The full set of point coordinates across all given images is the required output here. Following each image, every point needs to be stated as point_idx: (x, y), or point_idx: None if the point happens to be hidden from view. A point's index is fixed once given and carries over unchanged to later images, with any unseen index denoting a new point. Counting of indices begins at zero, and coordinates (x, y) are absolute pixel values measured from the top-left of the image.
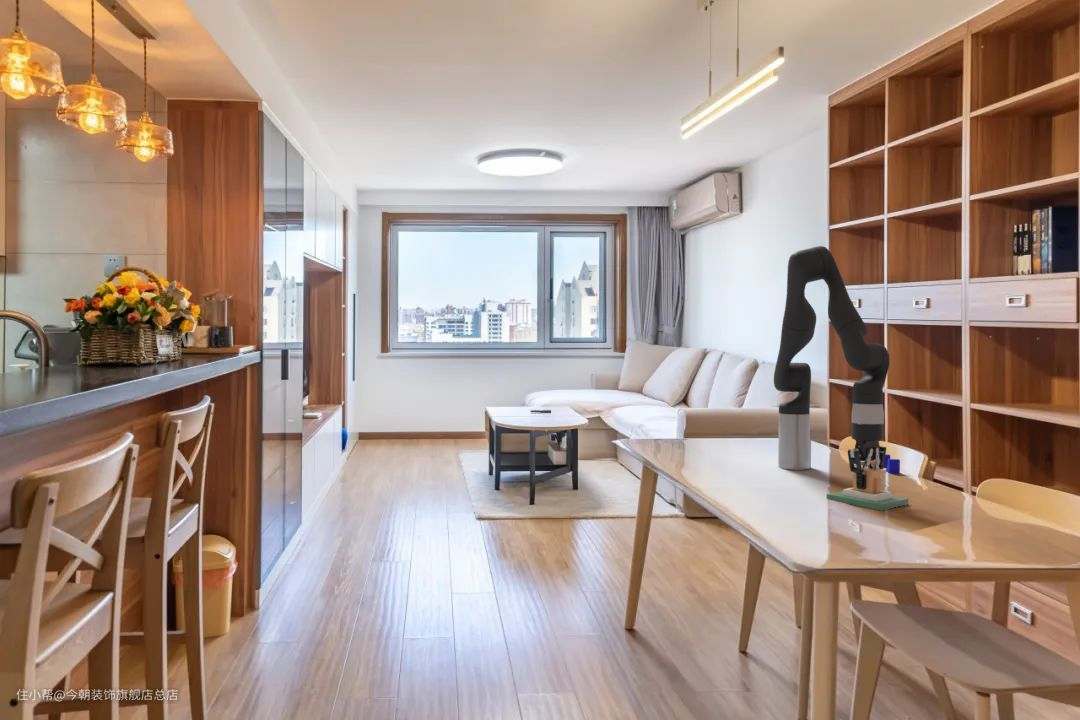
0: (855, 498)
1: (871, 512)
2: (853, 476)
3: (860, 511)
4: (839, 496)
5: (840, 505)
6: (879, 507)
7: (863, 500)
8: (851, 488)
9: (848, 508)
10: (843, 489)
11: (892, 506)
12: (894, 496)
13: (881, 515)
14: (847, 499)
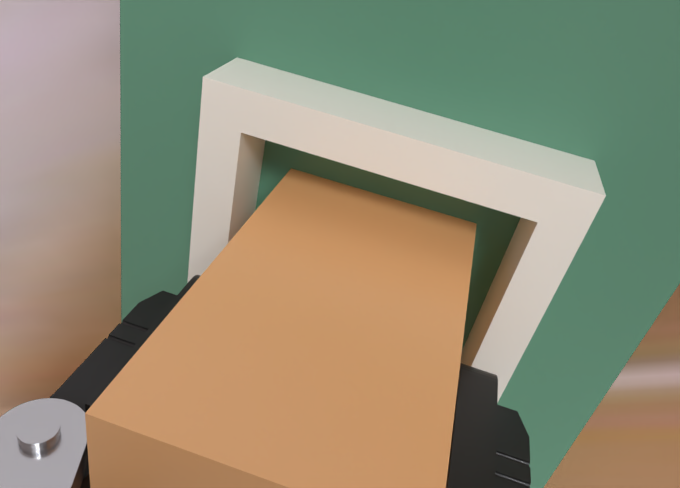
0: (169, 223)
1: (45, 339)
2: (174, 310)
3: (6, 280)
4: (124, 55)
5: (51, 98)
6: None
7: (142, 298)
8: (355, 154)
9: (12, 189)
10: (202, 85)
11: None
12: (545, 481)
13: (27, 392)
14: (127, 150)
